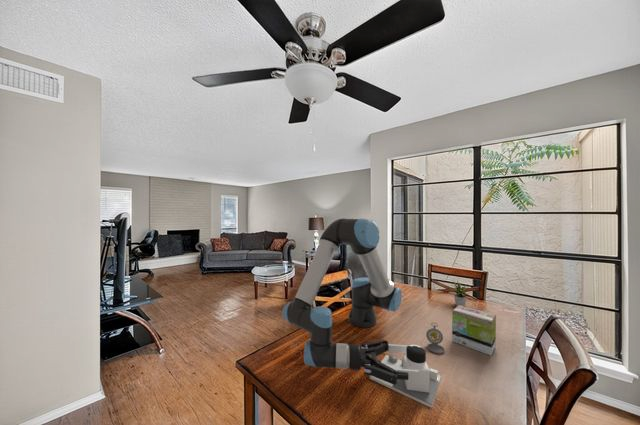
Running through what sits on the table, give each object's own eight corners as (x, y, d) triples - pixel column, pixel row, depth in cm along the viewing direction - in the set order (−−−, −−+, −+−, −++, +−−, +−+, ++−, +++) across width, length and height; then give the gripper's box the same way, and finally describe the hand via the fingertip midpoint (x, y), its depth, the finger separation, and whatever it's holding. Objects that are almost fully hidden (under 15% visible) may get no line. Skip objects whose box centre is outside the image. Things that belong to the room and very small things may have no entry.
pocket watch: (435, 355, 94) (435, 331, 94) (421, 344, 102) (421, 322, 102) (451, 352, 96) (451, 329, 96) (436, 342, 104) (436, 320, 105)
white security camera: (430, 393, 73) (430, 355, 73) (406, 390, 74) (406, 352, 74) (424, 377, 80) (424, 343, 80) (402, 375, 81) (402, 341, 81)
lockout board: (369, 378, 80) (369, 370, 80) (386, 356, 93) (386, 349, 93) (431, 407, 68) (431, 398, 68) (441, 377, 81) (441, 369, 81)
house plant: (440, 302, 154) (440, 277, 154) (456, 299, 158) (456, 276, 158) (459, 310, 140) (459, 283, 141) (476, 307, 145) (476, 282, 145)
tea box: (451, 342, 105) (451, 309, 105) (457, 334, 112) (457, 304, 112) (492, 356, 94) (492, 320, 94) (496, 347, 101) (496, 313, 101)
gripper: (348, 346, 91) (402, 350, 89) (349, 395, 67) (425, 402, 64) (348, 328, 92) (402, 331, 89) (349, 369, 67) (425, 375, 64)
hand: (412, 361), depth 77 cm, fingers open, 13 cm apart
